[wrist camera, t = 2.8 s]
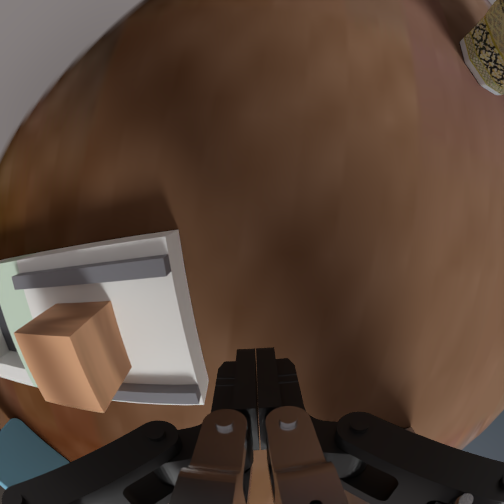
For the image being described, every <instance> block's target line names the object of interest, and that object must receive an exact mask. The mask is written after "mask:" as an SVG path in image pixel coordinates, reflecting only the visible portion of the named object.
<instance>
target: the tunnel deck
mask: <svg viewBox="0 0 504 504" xmlns="http://www.w3.org/2000/svg"><path fill="white" fill-rule="evenodd" d="M100 301H111V303H112V307H113V310H114V314H115V317H116V321H117V324H118V327H119V331H120V334H121V337H122V340H123V343H124V346H125V349H126V352H127V355H128V358H129V360H130V363H131V366H132V368H131V369H130V371H129V373H128V374H127V376H126V378H125V379H124V381H123V382H122V384H121V386H120V387H119V389H118V391H117V392H116V394H115V396H114V397H113V399H112V401H121V402H132V403H145V404H166V405H204V402H205V397H206V392H207V387H208V382H209V379H208V375H207V371H206V367H205V363H204V359H203V355H202V351H201V346H200V342H199V337H198V333H197V328H196V324H195V319H194V314H193V309H192V304H191V299H190V294H189V289H188V284H187V278H186V273H185V267H184V261H183V255H182V249H181V243H180V236H179V230H171V231H164V232H157V233H150V234H144V235H137V236H131V237H124V238H118V239H112V240H106V241H99V242H94V243H88V244H82V245H76V246H70V247H65V248H59V249H54V250H48V251H43V252H38V253H33V254H28V255H23V256H18V257H13V258H8V259H3V260H0V377H3V378H6V379H9V380H13V381H16V382H19V383H23V384H27V385H30V386H34V387H38V386H37V384H36V382H35V380H34V378H33V376H32V374H31V372H30V370H29V368H28V366H27V364H26V361H25V359H24V357H23V355H22V352H21V350H20V348H19V345H18V343H17V340H16V338H15V335H14V332H15V331H17V330H18V329H20V328H21V327H22V326H24V325H25V324H27V323H28V322H30V321H31V320H33V319H34V318H35V317H37V316H38V315H40V314H41V313H43V312H44V311H46V310H47V309H49V308H50V307H52V306H53V305H55V304H57V303H81V302H100Z"/></svg>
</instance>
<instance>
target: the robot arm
mask: <svg viewBox="0 0 504 504" xmlns="http://www.w3.org/2000/svg"><path fill="white" fill-rule="evenodd" d="M256 356H257V374H256V359H255V349H237V355H236V361H230V362H224V363H223V364H222V365H221V367H220V368H219V369H218V374H217V379H216V386H215V391H214V397H213V403H212V409H211V413H210V414H208V415H207V416H206V417H205V418H204V420H203V423H202V424H200V425H198V426H195V427H192V428H186V429H181V430H177V429H176V427H175V426H174V425H172V424H171V423H168V422H165V421H151V422H148V423H146V424H144V425H142V426H140V427H138V428H137V429H135V430H133V431H131V432H130V433H128V434H126V435H124V436H122V437H120V438H119V439H117V440H115V441H113V442H111V443H109V444H107V445H105V446H103V447H101V448H99V449H97V450H95V451H93V452H91V453H89V454H87V455H85V456H83V457H81V458H79V459H77V460H75V461H72V462H70V463H68V464H66V465H63V466H61V467H59V468H57V469H54V470H52V471H49V472H47V473H45V474H42V475H40V476H37V477H34V478H32V479H29V480H27V481H24V482H21V483H18V484H15V485H12V486H10V487H8V488H7V489H6V490H5V491H4V493H3V496H2V504H168V503H169V504H249V496H250V487H251V477H252V464H253V450H259V426H260V440H261V450H264V449H267V463H268V472H269V478H270V484H271V490H272V496H273V502H274V504H504V462H500V461H496V460H492V459H489V458H485V457H482V456H478V455H475V454H472V453H469V452H465V451H462V450H459V449H456V448H453V447H450V446H447V445H445V444H442V443H439V442H436V441H434V440H431V439H428V438H426V437H423V436H421V435H418V434H416V433H415V432H414V430H413V429H412V427H409V428H407V429H403V428H401V427H399V426H396V425H394V424H392V423H389V422H387V421H385V420H383V419H380V418H378V417H376V416H374V415H372V414H369V413H365V412H353V413H349V414H347V415H345V416H343V417H342V418H341V419H340V420H339V421H338V422H330V421H322V420H318V419H315V418H313V417H312V416H310V415H309V414H308V413H307V412H306V410H305V408H304V404H303V400H302V395H301V391H300V387H299V382H298V378H297V375H296V370H295V365H294V364H293V363H292V362H291V361H290V360H289V359H288V358H284V359H275V352H274V347H273V348H257V349H256ZM257 386H258V392H257ZM258 412H259V423H258Z"/></svg>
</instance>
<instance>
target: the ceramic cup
mask: <svg viewBox="0 0 504 504" xmlns="http://www.w3.org/2000/svg"><path fill="white" fill-rule="evenodd" d="M460 46H461V50H462V53H463V57H464V62H465V64H466V65H467V67H468V68H469V69H470V71H471V72H472V74H473V75H474V77H475V78H476V80H477V81H478V83H479V84H480V86H482V87H483V88H485V89H487V90H488V91H490V92H492V93H493V94H495V95H504V0H496V1H495V2H494V4H493V5H492V6H491V7H490V9H489V10H488V12H487V13H486V15H485V16H484V17H483V18H482V19H481V20H480V21H479V22H478V23H477V25H476V26H475V27H474V28H473V29H472V30H471V31H470V32H469V33H468V34H467V35H466V36H465V37H464V38H463V39H462V40H461V41H460Z"/></svg>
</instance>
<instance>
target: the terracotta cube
mask: <svg viewBox="0 0 504 504" xmlns="http://www.w3.org/2000/svg"><path fill="white" fill-rule="evenodd" d="M14 335H15V338H16V340H17V343H18V345H19V348H20V350H21V352H22V355H23V357H24V359H25V361H26V364H27V366H28V368H29V370H30V372H31V374H32V376H33V378H34V380H35V382H36V384H37V386H38V388H39V390H40V392H41V393H42V395H43V397H44V399H45V401H48V402H52V403H56V404H60V405H64V406H69V407H73V408H78V409H83V410H89V411H94V412H101V413H105V411H106V409H107V407H108V406H109V404H110V402H111V401H112V399H113V397H114V396H115V394H116V392H117V391H118V389H119V387H120V386H121V384H122V382H123V381H124V379H125V378H126V376H127V374H128V373H129V371H130V369H131V368H132V366H131V363H130V360H129V358H128V355H127V352H126V349H125V346H124V343H123V340H122V337H121V334H120V331H119V327H118V324H117V321H116V317H115V314H114V310H113V307H112V303H111V301H100V302H81V303H57V304H55V305H53V306H52V307H50V308H49V309H47V310H46V311H44V312H43V313H41V314H40V315H38V316H37V317H35V318H34V319H33V320H31V321H30V322H28V323H27V324H25V325H24V326H22V327H21V328H20V329H18V330H17V331H15V332H14Z"/></svg>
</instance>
